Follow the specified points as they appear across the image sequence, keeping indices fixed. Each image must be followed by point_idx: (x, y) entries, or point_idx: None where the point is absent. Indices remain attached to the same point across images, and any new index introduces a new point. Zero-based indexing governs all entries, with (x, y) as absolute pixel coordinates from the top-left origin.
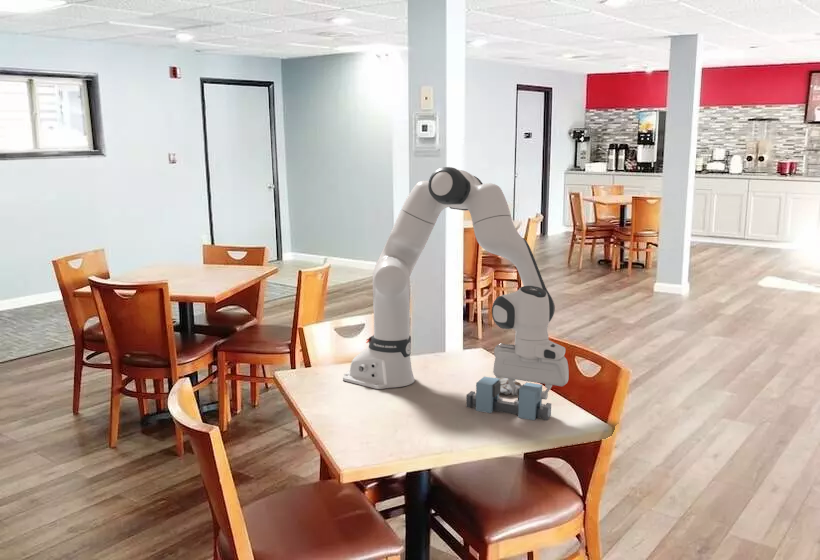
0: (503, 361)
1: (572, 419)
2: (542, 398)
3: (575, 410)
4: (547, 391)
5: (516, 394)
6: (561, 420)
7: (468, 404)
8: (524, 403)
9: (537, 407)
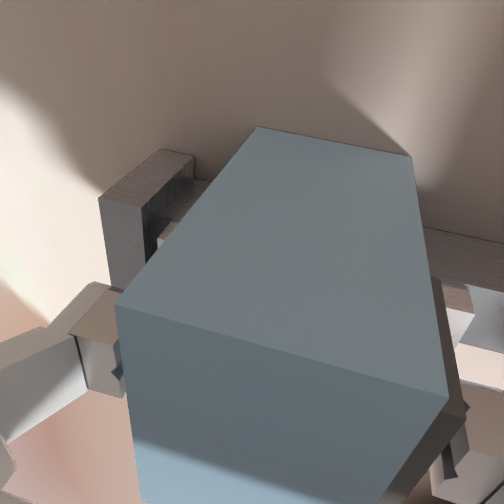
0: None
1: (31, 210)
2: None
3: None
4: (3, 346)
5: (462, 381)
6: (77, 177)
7: None
8: (343, 219)
9: None
